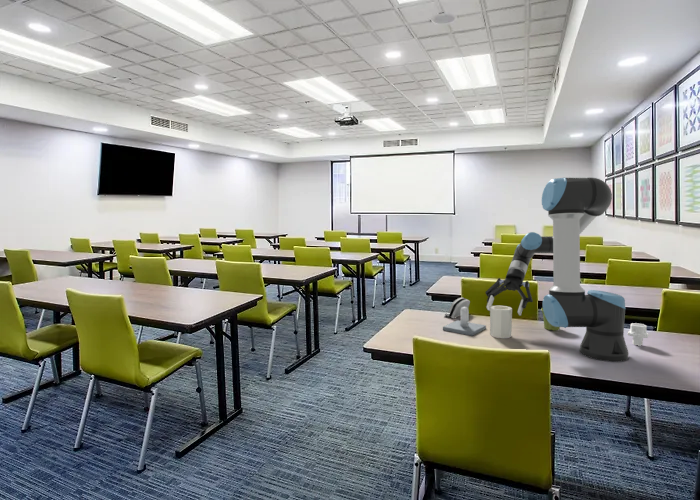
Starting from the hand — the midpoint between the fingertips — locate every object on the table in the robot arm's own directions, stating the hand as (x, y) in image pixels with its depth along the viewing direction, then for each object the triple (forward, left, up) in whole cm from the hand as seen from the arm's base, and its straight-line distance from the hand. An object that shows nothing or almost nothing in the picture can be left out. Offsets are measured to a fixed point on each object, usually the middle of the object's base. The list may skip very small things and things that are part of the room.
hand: (503, 311), depth 180 cm
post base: (+15, +6, -9) cm, 19 cm away
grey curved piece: (+29, -16, -10) cm, 35 cm away
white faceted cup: (-1, +5, -9) cm, 11 cm away
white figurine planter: (-47, -16, -10) cm, 51 cm away
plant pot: (-15, -19, -10) cm, 26 cm away
